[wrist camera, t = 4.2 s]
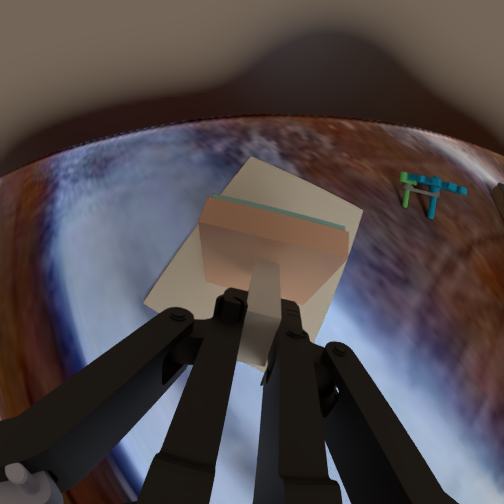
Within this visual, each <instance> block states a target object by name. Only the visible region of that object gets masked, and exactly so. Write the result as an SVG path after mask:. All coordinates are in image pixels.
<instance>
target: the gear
mask: <svg viewBox="0 0 504 504" xmlns="http://www.w3.org/2000/svg"><path fill="white" fill-rule="evenodd" d="M439 179H440V177H437V176H433V178H428V177H425V176H422V175H413V174H409V173H406V172H401V171H400V179H399V181H400V182H405V184H402V189H405V191H404V198H403V204H402V207H405V208H407V206H408V199H409V193H410V191H414V192H418V193H422V194H426V195H430V202H429V209H428V214H427V218H430V219H434V213H435V207H436V201H437V197H438V198H439V195H440V190H442V189H443V190H446V191H450V192H455V193H458V194H463V195H467V188H465V187H462V186H457V184H453V183H450V182H448V183H446V182H443V181H441V180H439ZM417 183H418V184H422V185H428V187H430V189H429V192H427V191H423V190H419V189H415V188H413V187H414V186H411V185H417Z"/></svg>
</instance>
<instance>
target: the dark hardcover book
mask: <svg viewBox="0 0 504 504" xmlns="http://www.w3.org/2000/svg"><path fill="white" fill-rule="evenodd" d="M491 194H492V196H493V198H494V200H495V202H496V204H497V207H498V209H499V211H500V213H501V215H502V218H503V220H504V184H501V183H498V185H496V187H495V188H494V189H493V190H492V191H491Z"/></svg>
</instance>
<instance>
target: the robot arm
mask: <svg viewBox="0 0 504 504" xmlns="http://www.w3.org/2000/svg"><path fill="white" fill-rule="evenodd" d="M267 360H268V361H267ZM236 361H240V362H245V363H249V364H254V365H259V366H263V367H265V365H266V362H267V368H266V370H265V373H264V376H263V379H262V381H261V384H260V385H261V386H263V397H262V410H261V422H260V434H259V446H258V457H257V467H256V478H255V488H254V498H253V504H342V496H341V489H340V486H339V484H338V482H337V481H335V480H331V479H330V478H329V475H328V467H327V457H326V449H325V442H326V444H327V447H328V449H329V451H330V454H331V456H332V459H333V461H334V463H335V466H336V468H337V471H338V473H339V475H340V478H341V480H342V483H343V485H344V487H345V490H346V492H347V495H348V497H349V499H350V502H351V504H459V503H457V502H456V501H455V500H454V499H453V498H451V497H450V496H449V495H448V494H446V493H445V492H444V491H443V489H442V488H441V486H440V484H439V483H438V481H437V479H436V478H435V476H434V474H433V473H432V471H431V470H430V468H429V466H428V465H427V463H426V461H425V460H424V458H423V457H422V455H421V453H420V452H419V450H418V449H417V447H416V446H415V444H414V442H413V441H412V439H411V438H410V436H409V435H408V433H407V431H406V430H405V428H404V427H403V425H402V424H401V422H400V421H399V419H398V417H397V416H396V414H395V413H394V411H393V410H392V408H391V407H390V405H389V404H388V402H387V401H386V399H385V398H384V396H383V395H382V393H381V392H380V390H379V389H378V387H377V386H376V384H375V383H374V381H373V380H372V378H371V377H370V375H369V374H368V372H367V371H366V369H365V368H364V366H363V365H362V364H361V362H360V361H359V359H358V358H357V356H356V355H355V353H354V352H353V350H352V349H351V348H350V347H348V346H347V345H345V344H344V343H341V342H335V341H334V342H329V343H327V344H326V346H325V348H324V347H321V346H319V345H316V344H314V343H312V342H311V341H310V338H309V335H308V333H307V332H306V331H305V330H304V329H303V327H302V320H301V314H300V308H299V306H298V305H297V303H296V302H295V301H291V300H286V299H282V298H281V291H280V267H279V264H277V263H273V262H269V261H265V260H261V259H256V260H255V265H254V269H253V273H252V277H251V281H250V285H249V289H248V291H245V290H241V289H236V288H232V287H230V288H228V289H226V290H225V292H224V294H223V295H220V296H218V297H217V298H216V303H215V308H214V313H213V317H212V318H209V319H194V315H193V314H192V313H191V312H190V311H189V310H187V309H184V308H181V307H169V308H167V309H165V310H163V311H162V312H161V313H159V314H158V315H157V316H155V317H154V318H152V319H151V320H150V321H148V322H147V323H145V324H144V325H143V326H141V327H140V328H138V329H137V330H136V331H134V332H133V333H132V334H130V335H129V336H127V337H126V338H125V339H123V340H122V341H120V342H119V343H118V344H116V345H115V346H113V347H112V348H111V349H109V350H108V351H107V352H105V353H104V354H102V355H101V356H100V357H98V358H97V359H96V360H94V361H93V362H91V363H90V364H89V365H87V366H86V367H84V368H83V369H82V370H80V371H79V372H78V373H76V374H75V375H73V376H72V377H71V378H69V379H68V380H67V381H65V382H64V383H62V384H61V385H60V386H58V387H57V388H56V389H54V390H53V391H51V392H50V393H49V394H47V395H46V396H45V397H43V398H42V399H41V400H39V401H38V402H36V403H35V404H34V405H32V406H31V407H30V408H28V409H27V410H25V411H24V412H23V413H21V414H20V415H19V416H17V417H14V418H10V419H6V420H2V421H0V504H63V498H62V495H61V493H63V492H65V491H67V490H68V489H70V488H72V487H73V486H75V485H76V484H77V483H79V482H80V481H81V480H82V479H83V478H84V477H86V476H87V475H88V474H89V473H90V471H91V470H92V469H93V468H94V467H95V466H96V465H97V464H98V463H99V462H100V461H101V460H102V459H103V458H104V457H105V456H106V455H107V454H108V453H109V452H110V451H111V450H112V449H113V448H114V447H115V446H116V445H117V444H118V443H119V441H120V440H121V439H122V438H123V437H124V436H125V435H126V434H127V433H128V432H129V431H130V430H131V429H132V428H133V427H134V426H135V424H136V423H137V422H138V421H139V420H140V419H141V418H142V417H143V416H144V415H145V414H146V413H147V411H148V410H149V409H150V408H151V407H152V406H153V405H154V404H155V403H156V402H157V401H158V399H159V398H160V397H161V396H162V395H163V394H164V393H165V392H166V391H167V390H168V388H169V387H170V386H171V385H172V384H173V383H174V382H175V381H176V379H177V378H178V377H179V376H180V375H181V374H182V373H183V372H184V371H185V369H186V368H187V366H188V364H189V365H193V367H192V370H191V372H190V375H189V378H188V380H187V383H186V385H185V388H184V390H183V393H182V396H181V398H180V401H179V403H178V406H177V409H176V411H175V414H174V416H173V419H172V422H171V424H170V427H169V430H168V432H167V435H166V438H165V440H164V443H163V445H162V448H161V450H160V452H159V453H157V454H156V455H155V457H154V458H153V461H152V463H151V465H150V468H149V471H148V473H147V476H146V478H145V481H144V484H143V486H142V489H141V492H140V494H139V497H138V500H137V501H134V502H128V503H124V504H209V502H210V497H211V492H212V487H213V482H214V477H215V466H216V460H217V456H218V451H219V446H220V441H221V436H222V431H223V426H224V421H225V416H226V411H227V406H228V401H229V396H230V391H231V386H232V381H233V376H234V371H235V366H236ZM263 383H264V384H263ZM336 388H338V390H339V393H338V392H337V390H336ZM324 439H325V440H324Z"/></svg>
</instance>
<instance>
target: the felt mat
mask: <svg viewBox="0 0 504 504" xmlns="http://www.w3.org/2000/svg"><path fill="white" fill-rule="evenodd" d="M221 195H223V196H228V197H232V198H237V199H241V200H246V201H250V202H254V203H258V204H262V205H267V206H271V207H275V208H279V209H283V210H287V211H291V212H295V213H298V214H302V215H306V216H310V217H314V218H317V219H321V220H325V221H328V222H332V223H335V224H339V225H343V226H345V231H347V232H349V249H348V255H349V253H350V250H351V247H352V244H353V241H354V238H355V235H356V232H357V229H358V225H359V222H360V219H361V216H362V213H363V210H362V209H360V208H358V207H356V206H354V205H352V204H350V203H349V202H347V201H345V200H343V199H341V198H339V197H337V196H335V195H333V194H331V193H329V192H327V191H325V190H323V189H321V188H319V187H317V186H315V185H313V184H311V183H309V182H307V181H305V180H303V179H301V178H299V177H297V176H294V175H292V174H290V173H288V172H286V171H284V170H281V169H279V168H277V167H275V166H272V165H270V164H268V163H266V162H263V161H261V160H259V159H256V158H254V157H250V158H249V159H248V161H247V162H246V163H245V164H244V165H243V167H242V168H241V169H240V170H239V172H238V173H237V174H236V175H235V177H234V178H233V179H232V180H231V182H230V183H229V184H228V186H227V187H226V188H225V189H224V191H223V192H222V193H221ZM346 261H347V260H346ZM346 261H345V263H344V264H343V265H342V266H341V267H340V268H339V269H338V270H337V271H336V272H335V273H334V274H333V275H332V276H331V277H330V278H329V279H328V281H327V282H326V283H325V284H324V285H323V286H322V287H321V288H320V289H319V290H318V291H317V292H316V293H315V294H314V295H313V296H312V297H311V298H310V299H309V300H308V301H307V302H306V303H305V304H304V305H299V304H297V305H298V306H299V308H300V314H301V320H302V327H303V329H304V330H305V331H306V332H307V333H308V335H309V338H310V341H311V342H312V343H314V341H315V339H316V337H317V334H318V332H319V330H320V327H321V325H322V323H323V320H324V318H325V316H326V313H327V311H328V308H329V306H330V303H331V301H332V298H333V296H334V293H335V291H336V288H337V286H338V283H339V280H340V278H341V275H342V272H343V269H344V267H345V264H346ZM226 289H228V288H227V287H223V286H219V285H215V284H211V283H208V282H206V276H205V269H204V262H203V255H202V248H201V240H200V233H199V225H197V226H196V228H195V229H194V230H193V232H192V233H191V234H190V236H189V237H188V239H187V240H186V241H185V243H184V244H183V245H182V247H181V248H180V250H179V251H178V252H177V254H176V255H175V257H174V258H173V260H172V261H171V262H170V264H169V265H168V267H167V268H166V270H165V271H164V273H163V274H162V275H161V277H160V278H159V280H158V281H157V283H156V284H155V286H154V287H153V289H152V290H151V292H150V293H149V295H148V296H147V298H146V299H145V301H144V302H143V303H144V304H145V305H147V306H148V307H150V308H151V309H153V310H154V311H156V312H157V313H161V312H162V311H163V310H165V309H167V308H169V307H181V308H184V309H187V310H189V311H190V312H191V313H192V314H193V315H194V319H209V318H212V317H213V313H214V308H215V303H216V298H217V297H218V296H220V295H223V294H224V292H225V290H226ZM267 361H268V360H267ZM244 363H245V362H244ZM246 364H248V365H250V366H252V367H254V368H256V369H258V370H260V371H262V372H264V373H265V370H266V368H267V362H266V365H265V367H263V366H259V365H254V364H249V363H246Z"/></svg>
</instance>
